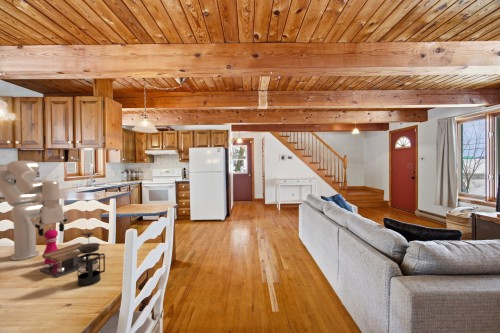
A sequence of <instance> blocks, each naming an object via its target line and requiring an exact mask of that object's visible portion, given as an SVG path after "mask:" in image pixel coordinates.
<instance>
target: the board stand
mask: <svg viewBox="0 0 500 333" xmlns="http://www.w3.org/2000/svg"><path fill="white" fill-rule="evenodd" d="M78 257H79V255H78V256H75V257H72V258H70V259H67V260H64V261H61V262H57V263H54V264H53V263H48V264H45V267H44V268H40V269H39V272H40V273H42V274H45V275H49V276H51V277H53V278H57V279H58V278H61V277H63V276H66V275H68V274H72V273H74V272H76V271H77V258H78ZM79 260H86V259H85V257H84V258H81V259H79ZM93 264H99V259H98V260H95V261H93ZM84 266H86V263H79V262H78V270H79V269H80V268H81V267H84ZM77 272H78V271H77Z"/></svg>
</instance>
